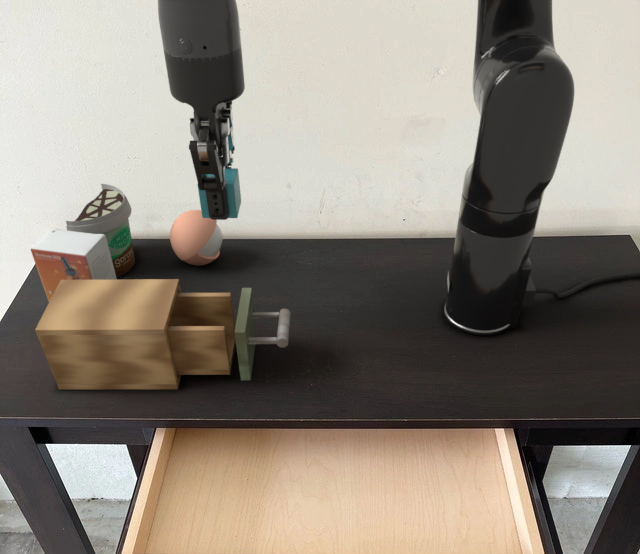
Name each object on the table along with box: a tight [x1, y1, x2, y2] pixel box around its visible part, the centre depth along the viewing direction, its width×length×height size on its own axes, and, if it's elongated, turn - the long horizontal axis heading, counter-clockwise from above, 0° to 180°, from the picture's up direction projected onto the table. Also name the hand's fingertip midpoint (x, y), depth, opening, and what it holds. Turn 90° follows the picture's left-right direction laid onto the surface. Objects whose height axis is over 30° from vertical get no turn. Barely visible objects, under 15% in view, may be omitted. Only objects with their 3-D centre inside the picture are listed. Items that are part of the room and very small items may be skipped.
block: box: [196, 167, 242, 219], centre depth 75 cm, size 4×4×4 cm
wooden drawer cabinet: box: [35, 278, 183, 390], centre depth 80 cm, size 15×10×9 cm
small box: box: [30, 227, 118, 303], centre depth 88 cm, size 8×6×10 cm
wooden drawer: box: [167, 287, 291, 381], centre depth 80 cm, size 18×9×7 cm, turn 89°
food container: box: [65, 183, 136, 278], centre depth 96 cm, size 12×6×10 cm, turn 168°
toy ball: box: [169, 209, 224, 266], centre depth 97 cm, size 8×8×8 cm
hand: (222, 207), depth 76 cm, fingers closed on block, 4 cm apart
